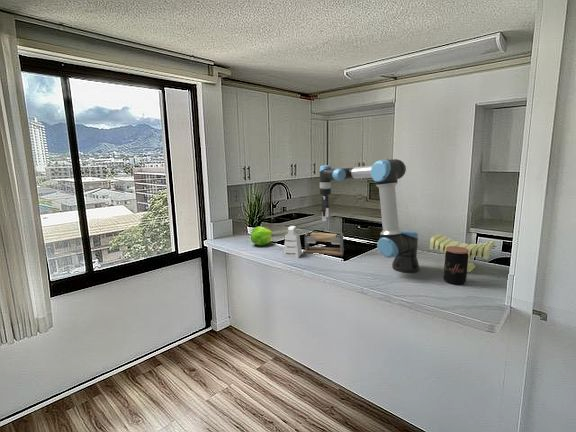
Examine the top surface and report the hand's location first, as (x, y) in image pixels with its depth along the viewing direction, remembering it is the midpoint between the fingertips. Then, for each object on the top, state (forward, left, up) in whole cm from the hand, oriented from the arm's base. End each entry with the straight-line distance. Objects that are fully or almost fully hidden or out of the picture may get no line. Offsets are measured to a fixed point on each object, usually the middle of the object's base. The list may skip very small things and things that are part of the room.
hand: (325, 218), depth 223 cm
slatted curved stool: (-18, -82, -24) cm, 87 cm away
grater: (-12, +21, -24) cm, 34 cm away
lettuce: (+10, +50, -24) cm, 56 cm away
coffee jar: (-41, -74, -24) cm, 88 cm away
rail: (0, +1, -16) cm, 16 cm away
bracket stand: (0, +1, -24) cm, 24 cm away
